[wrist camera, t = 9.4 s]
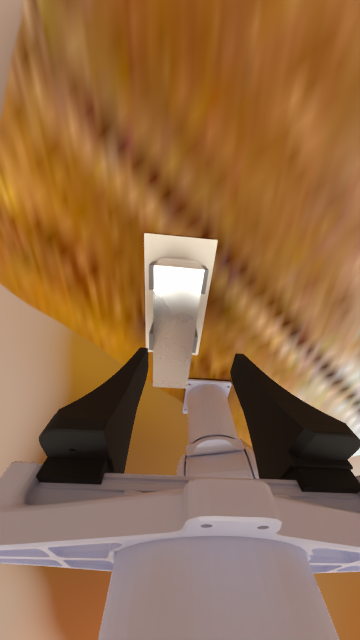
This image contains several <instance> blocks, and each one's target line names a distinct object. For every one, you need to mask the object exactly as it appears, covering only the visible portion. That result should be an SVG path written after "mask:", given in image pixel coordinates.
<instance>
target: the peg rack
mask: <svg viewBox="0 0 360 640" xmlns="http://www.w3.org/2000/svg"><path fill="white" fill-rule="evenodd" d="M217 242H218V240H211V239H201V238H191V237H180V236H170V235H159V234H149V233H144V260H145V321H146V348H148V352H153V316H154V265H155V264H156V263H157V262H158V261H159V260H160V259H161V258H173V259H184V260H195V261H198V262H199V263H200V265H201V266H202V268H203V269H204V275H203V282H202V289H201V296H200V302H199V309H198V316H197V323H196V329H195V336H194V343H193V349H192V355H198V352H199V346H200V340H201V334H202V328H203V323H204V317H205V311H206V305H207V300H208V294H209V288H210V282H211V276H212V271H213V265H214V259H215V253H216V248H217Z"/></svg>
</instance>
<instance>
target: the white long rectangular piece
mask: <svg viewBox="0 0 360 640" xmlns="http://www.w3.org/2000/svg"><path fill="white" fill-rule="evenodd" d="M203 275H204V269H203V268H202V266H201V265H200V263H199V262H198V261H195V260H184V259H173V258H161V259H160V260H159V261H158V262H157V263H156V264H155V265H154V316H153V387H167V388H184V389H187V383H188V376H189V370H190V363H191V356H192V349H193V343H194V336H195V329H196V323H197V316H198V309H199V302H200V296H201V289H202V282H203Z"/></svg>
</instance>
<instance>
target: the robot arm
mask: <svg viewBox="0 0 360 640" xmlns="http://www.w3.org/2000/svg"><path fill="white" fill-rule="evenodd" d="M147 372H148V348H139V349H138V351H137V352H136V353H135V354H134V355H133V357H132V358H131V359H130V360H129V361H128V362H127V363H126V364H125V365H124V366H123V367H122V368H121V369H120V370H119V371H118V372H117V373H116V374H115V375H113V376H112V377H111V378H110V379H109V380H107V381H106V382H105V383H103V384H102V385H101V386H99V387H98V388H96V389H95V390H93V391H92V392H90V393H89V394H87V395H85V396H84V397H82V398H80V399H78V400H77V401H75V402H73V403H71V404H69V405H67V406H65V407H63V408H61V409H59V410H58V412H57V413H56V414H55V415H54V416H53V418H52V419H51V420H50V422H49V423H48V425H47V426H46V428H45V429H44V430H43V432H42V433H41V435H40V436H39V442H40V444H41V447H42V448H43V450H44V451H45V453H46V455H47V459H46V461H45V462H44V464H43V465H42V464H40V463H36V462H18V461H15V462H12V463H11V465H10V466H9V467H8V468H7V470H6V471H5V472H4V474H3V475H2V476H1V478H0V563H1V564H23V565H40V566H52V567H65V568H77V569H90V570H103V571H112V574H111V579H110V584H109V589H108V594H107V599H106V604H105V609H104V614H103V618H102V623H101V628H100V633H99V638H98V640H339V637H338V635H337V632H336V630H335V627H334V625H333V622H332V620H331V617H330V615H329V612H328V610H327V607H326V605H325V602H324V600H323V597H322V595H321V592H320V589H319V587H318V584H317V582H316V579H315V577H314V574H313V573H331V572H360V476H356V477H355V476H354V474H353V473H352V472H351V470H350V469H353V467H352V465H351V464H350V463H349V461H348V460H347V459H349V458H350V457H351V456H352V455H353V454H354V453H355V452H356V451H357V450H358V449H359V448H360V439H359V438H358V437H357V436H356V435H355V434H354V433H353V432H352V430H351V429H350V428H349V427H348V426H347V425H346V424H345V423H343V422H341V421H339V420H337V419H335V418H333V417H331V416H329V415H327V414H325V413H323V412H321V411H319V410H318V409H316V408H314V407H312V406H310V405H309V404H307V403H305V402H303V401H302V400H300V399H299V398H297V397H296V396H294V395H292V394H291V393H289V392H288V391H287V390H285V389H284V388H282V387H281V386H280V385H278V384H277V383H276V382H274V381H273V380H272V379H271V378H269V377H268V376H267V375H266V374H265V373H264V372H262V371H261V370H260V369H259V368H258V367H257V366H256V365H255V364H254V363H252V362H251V361H250V360H249V359H248V358H247V357H246V356H245V355H244V354H235V358H234V361H233V364H232V368H231V371H230V373H231V378H232V382H233V385H234V388H235V391H236V394H237V396H238V399H239V401H240V404H241V407H242V409H243V412H244V415H245V419H246V422H247V426H248V430H249V434H250V438H251V442H252V446H253V451H254V452H252V451H251V450H250V448H248V447H246V448H243V444H242V441H241V439H239V438H238V434H237V431H236V427H235V424H234V420H233V417H232V414H231V410H230V407H229V403H228V400H227V398H228V395H229V392H230V389H231V386H232V383H231V382H230V381H215V380H199V379H188V383H187V389H186V390H185V397H184V404H183V414H188V435H189V445H187V446H186V454H187V455H182V457H181V459H180V460H179V463H178V467H177V476H172V475H146V474H145V475H144V474H124V471H125V465H126V459H127V454H128V449H129V444H130V439H131V433H132V429H133V424H134V420H135V414H136V410H137V407H138V403H139V400H140V397H141V394H142V390H143V387H144V384H145V381H146V377H147ZM189 383H190V384H189Z"/></svg>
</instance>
